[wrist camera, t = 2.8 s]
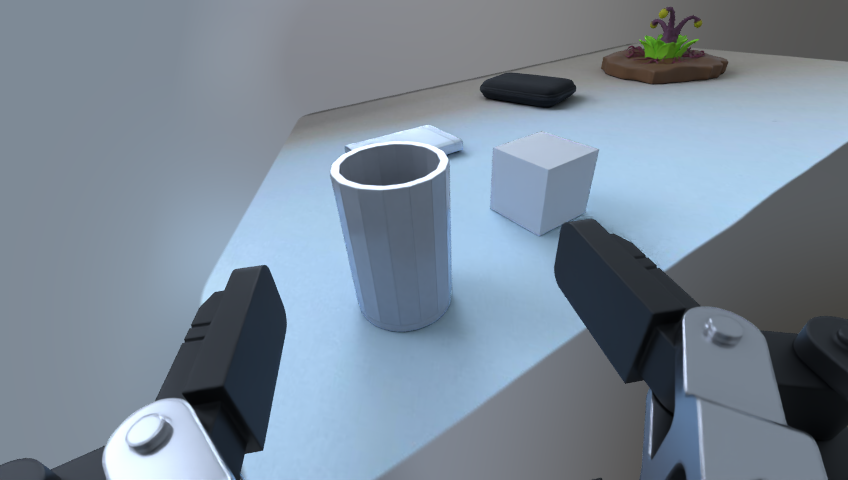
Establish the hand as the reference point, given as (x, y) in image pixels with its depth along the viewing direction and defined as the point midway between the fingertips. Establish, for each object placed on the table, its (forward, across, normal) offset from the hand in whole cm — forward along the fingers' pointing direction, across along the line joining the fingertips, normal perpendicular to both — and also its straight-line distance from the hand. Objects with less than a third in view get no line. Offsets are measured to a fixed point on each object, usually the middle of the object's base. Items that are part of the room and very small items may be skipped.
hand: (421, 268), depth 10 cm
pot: (+11, 0, +12) cm, 16 cm away
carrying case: (+56, -27, +12) cm, 64 cm away
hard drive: (+37, -3, +12) cm, 39 cm away
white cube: (+20, -13, +12) cm, 27 cm away
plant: (+65, -57, +12) cm, 87 cm away
